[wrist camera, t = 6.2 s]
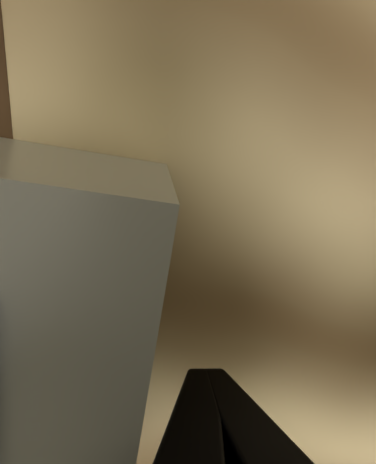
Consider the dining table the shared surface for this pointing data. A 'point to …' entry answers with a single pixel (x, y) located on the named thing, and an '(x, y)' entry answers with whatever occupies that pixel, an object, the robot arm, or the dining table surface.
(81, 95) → the striped wooden cutting board
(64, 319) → the block
